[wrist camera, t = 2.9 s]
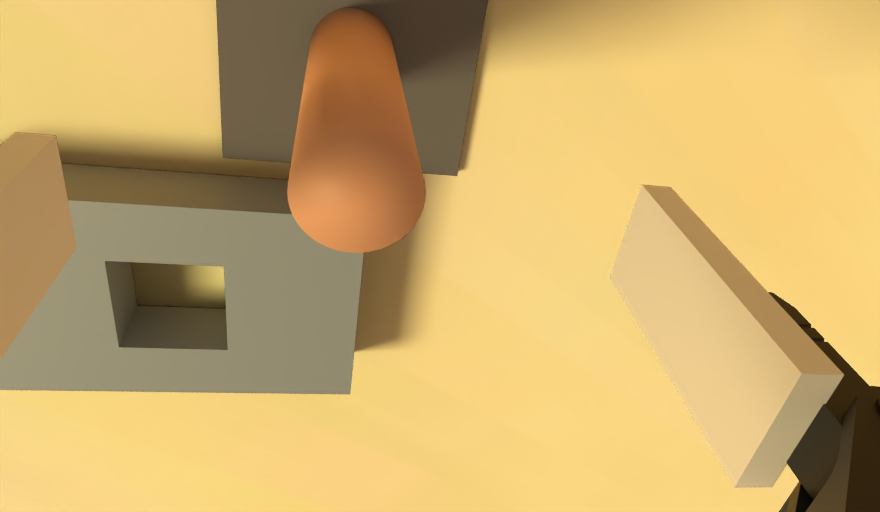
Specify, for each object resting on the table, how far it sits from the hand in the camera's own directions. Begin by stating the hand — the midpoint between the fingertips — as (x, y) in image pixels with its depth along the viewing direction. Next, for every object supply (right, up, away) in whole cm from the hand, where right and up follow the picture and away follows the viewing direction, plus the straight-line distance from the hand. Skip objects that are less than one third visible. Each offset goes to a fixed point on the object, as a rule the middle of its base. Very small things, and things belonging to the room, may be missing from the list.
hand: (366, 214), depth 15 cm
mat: (-2, +7, +10) cm, 13 cm away
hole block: (-10, -2, +15) cm, 18 cm away
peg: (-2, +7, +10) cm, 12 cm away
